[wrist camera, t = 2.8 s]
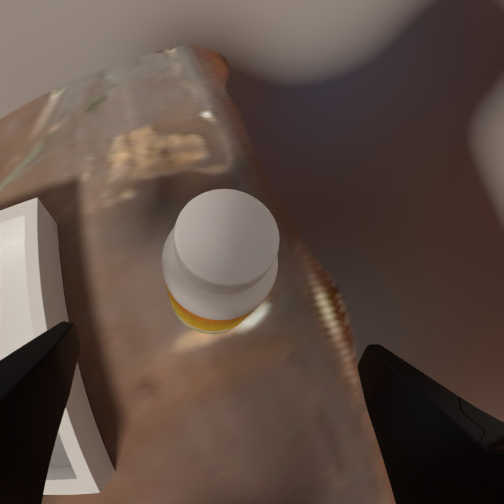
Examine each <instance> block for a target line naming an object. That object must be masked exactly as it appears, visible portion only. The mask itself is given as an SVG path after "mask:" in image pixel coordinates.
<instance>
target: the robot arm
mask: <svg viewBox="0 0 504 504" xmlns="http://www.w3.org/2000/svg"><path fill="white" fill-rule="evenodd" d="M79 352H80V343H79V338H78V333H77V328H76V325H75V324H74V323H71V322H66V321H62V322H60V323H58V324H57V325H55V326H54V327H52V328H50V329H49V330H47V331H45V332H44V333H42V334H41V335H39V336H37V337H36V338H34V339H33V340H31V341H29V342H28V343H26V344H25V345H23V346H22V347H20V348H18V349H17V350H15V351H14V352H12V353H11V354H9V355H8V356H6V357H5V358H3V359H1V360H0V504H41V503H42V497H43V492H44V487H45V482H46V478H47V473H48V469H49V465H50V461H51V457H52V453H53V449H54V445H55V441H56V438H57V434H58V431H59V427H60V424H61V421H62V417H63V414H64V411H65V408H66V405H67V401H68V398H69V395H70V391H71V387H72V382H73V378H74V373H75V369H76V365H77V360H78V356H79ZM358 371H359V376H360V380H361V384H362V389H363V393H364V398H365V402H366V406H367V410H368V413H369V416H370V419H371V422H372V425H373V428H374V431H375V435H376V438H377V441H378V444H379V447H380V451H381V454H382V457H383V460H384V464H385V467H386V470H387V474H388V477H389V481H390V484H391V488H392V491H393V495H394V498H395V502H396V504H504V422H502V421H500V420H498V419H496V418H494V417H492V416H491V415H489V414H487V413H485V412H483V411H482V410H480V409H478V408H476V407H475V406H473V405H471V404H470V403H468V402H467V401H465V400H464V399H462V398H460V397H459V396H458V397H457V395H456V394H454V393H453V392H451V391H450V390H448V389H447V388H445V387H444V386H442V385H441V384H439V383H437V382H436V381H434V380H433V379H431V378H430V377H428V376H427V375H425V374H424V373H422V372H421V371H419V370H418V369H416V368H415V367H413V366H412V365H410V364H409V363H407V362H406V361H404V360H403V359H401V358H399V357H398V356H397V355H395V354H393V353H392V352H390V351H389V350H387V349H386V348H384V347H383V346H381V345H379V344H371V345H368V346H367V347H366V349H365V351H364V353H363V355H362V357H361V359H360V361H359V364H358Z"/></svg>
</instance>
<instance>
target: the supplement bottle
mask: <svg viewBox="0 0 504 504" xmlns="http://www.w3.org/2000/svg"><path fill="white" fill-rule="evenodd" d="M278 249H279V231H278V227H277V224H276V221H275V219H274V217H273V216H272V214H271V213H270V211H269V210H268V209H267V208H266V207H265V205H264V204H262V203H261V202H260V201H259V200H257V199H256V198H254V197H253V196H251V195H249V194H247V193H244V192H241V191H238V190H233V189H216V190H211V191H208V192H204V193H202V194H200V195H198V196H196V197H195V198H193V199H192V200H191V201H190V202H188V203H187V204H186V206H185V207H184V208H183V209H182V211H181V212H180V214H179V216H178V219H177V221H176V224H175V227H174V228H173V229H172V230H171V232H170V234H169V235H168V237H167V239H166V242H165V245H164V248H163V253H162V271H163V276H164V281H165V284H166V287H167V291H168V295H169V298H170V302H171V305H172V308H173V310H174V312H175V314H176V315H177V317H178V318H179V319H180V321H181V322H182V323H183V324H185V325H186V326H187V327H189V328H191V329H192V330H194V331H197V332H200V333H204V334H219V333H223V332H226V331H229V330H231V329H233V328H234V327H236V326H237V325H238V324H239V323H241V322H242V321H243V320H244V319H245V318H246V317H247V316H248V315H249V314H250V313H251V312H252V311H253V310H255V309H256V308H257V307H258V306H259V305H260V304H261V303H262V302H263V301H264V299H265V298H266V297H267V296H268V294H269V293H270V291H271V289H272V287H273V285H274V283H275V280H276V276H277V271H278V256H277V253H278Z"/></svg>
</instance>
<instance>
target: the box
mask: <svg viewBox="0 0 504 504" xmlns="http://www.w3.org/2000/svg"><path fill="white" fill-rule="evenodd" d="M62 321H66V322H69V320H68V315H67V309H66V303H65V296H64V289H63V282H62V274H61V265H60V255H59V242H58V226H57V223H56V222H55V221H54V219H53V218H52V217H51V215H50V214H49V213H48V211H47V210H46V209H45V207H44V206H43V204H42V203H41V202H40V200H39V199H38V197H37V198H34V199H31V200H28V201H25V202H22V203H20V204H17V205H14V206H11V207H9V208H6V209H3V210H0V360H1V359H3V358H5V357H6V356H8V355H9V354H11V353H12V352H14V351H15V350H17V349H18V348H20V347H22V346H23V345H25V344H26V343H28V342H29V341H31V340H33V339H34V338H36V337H37V336H39V335H41V334H42V333H44V332H45V331H47V330H49V329H50V328H52V327H54V326H55V325H57V324H58V323H60V322H62ZM114 473H115V470H114V468H113V465H112V463H111V461H110V458H109V456H108V454H107V451H106V449H105V446H104V444H103V441H102V438H101V436H100V433H99V430H98V428H97V425H96V422H95V419H94V416H93V413H92V410H91V407H90V404H89V401H88V398H87V395H86V391H85V388H84V384H83V381H82V377H81V373H80V370H79V366H78V362H77V365H76V369H75V373H74V378H73V382H72V387H71V391H70V395H69V398H68V401H67V405H66V408H65V411H64V414H63V417H62V421H61V424H60V427H59V431H58V434H57V438H56V441H55V445H54V449H53V453H52V457H51V461H50V465H49V469H48V473H47V478H46V482H45V487H44V492H43V495H71V494H90V493H100V492H101V491H102V489H103V488H104V487H105V485H106V484H107V483H108V481H109V480H110V478H111V477H112V476H113V474H114Z"/></svg>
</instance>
